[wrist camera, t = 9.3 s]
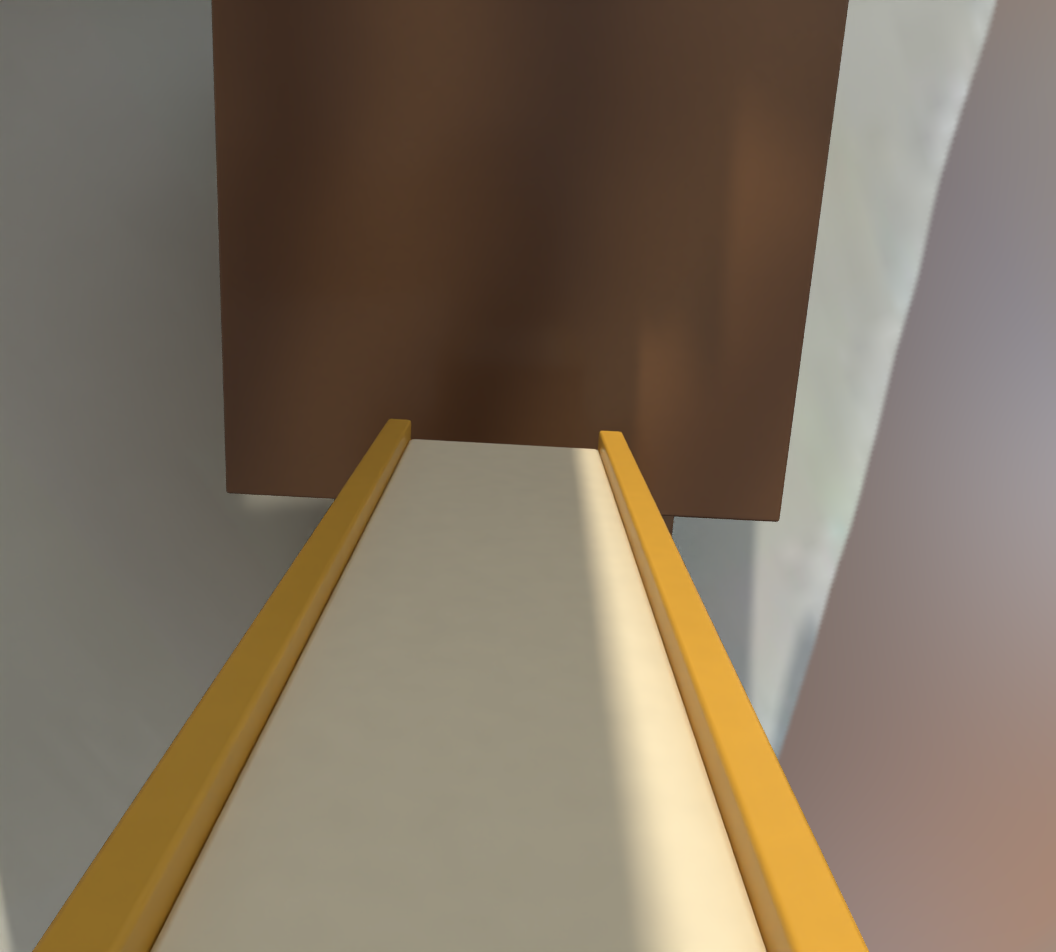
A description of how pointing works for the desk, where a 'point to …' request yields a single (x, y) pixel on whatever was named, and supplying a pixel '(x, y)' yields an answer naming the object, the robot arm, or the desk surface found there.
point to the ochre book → (470, 741)
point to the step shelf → (521, 232)
